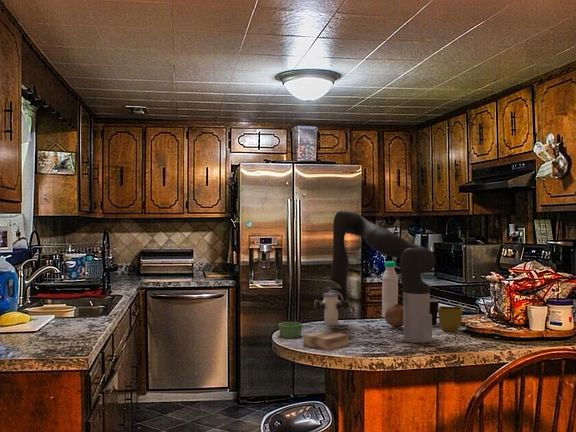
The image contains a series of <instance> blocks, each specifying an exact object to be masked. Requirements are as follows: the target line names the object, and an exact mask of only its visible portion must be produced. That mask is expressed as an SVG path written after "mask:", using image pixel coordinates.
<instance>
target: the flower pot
mask: <svg viewBox="0 0 576 432" xmlns="http://www.w3.org/2000/svg"><path fill="white" fill-rule="evenodd" d="M437 317H438V323H439V325H440V327H441V330H442V331H443V332H451V333H453V332H454V333H456V332H458V331H459V329H460V326H461V325H462V319H463V306H449V305H448V306H447V305H446V306H445V305H440V306H438V314H437Z"/></svg>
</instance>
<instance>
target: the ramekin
mask: <svg viewBox="0 0 576 432" xmlns="http://www.w3.org/2000/svg"><path fill="white" fill-rule="evenodd" d="M303 326H304V325H303V323H301V322H295V321H284V322H280V323H278V327H279V328H278V330H279V336H280V337H282V338H286V337H287V339H288V338H289V339H292V338H300V337H301V336H302V330H303V329H302V328H303Z"/></svg>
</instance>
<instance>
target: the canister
mask: <svg viewBox="0 0 576 432" xmlns="http://www.w3.org/2000/svg"><path fill="white" fill-rule="evenodd" d="M337 303H338V293H324V311H323V312H324V314H323V315H324V322H323V324H324V325H328V326H335V325H338V324H339V310H337Z"/></svg>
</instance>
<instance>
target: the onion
mask: <svg viewBox="0 0 576 432" xmlns="http://www.w3.org/2000/svg"><path fill="white" fill-rule="evenodd" d="M384 319H385V322H387V324H388V325H389V326H391V327H392V328H395V329H398V328H401V327H403V305H402V304H400V303H396V304H394V306H392V307H390V308H388V309H387V311H386V313H385V318H384Z"/></svg>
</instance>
